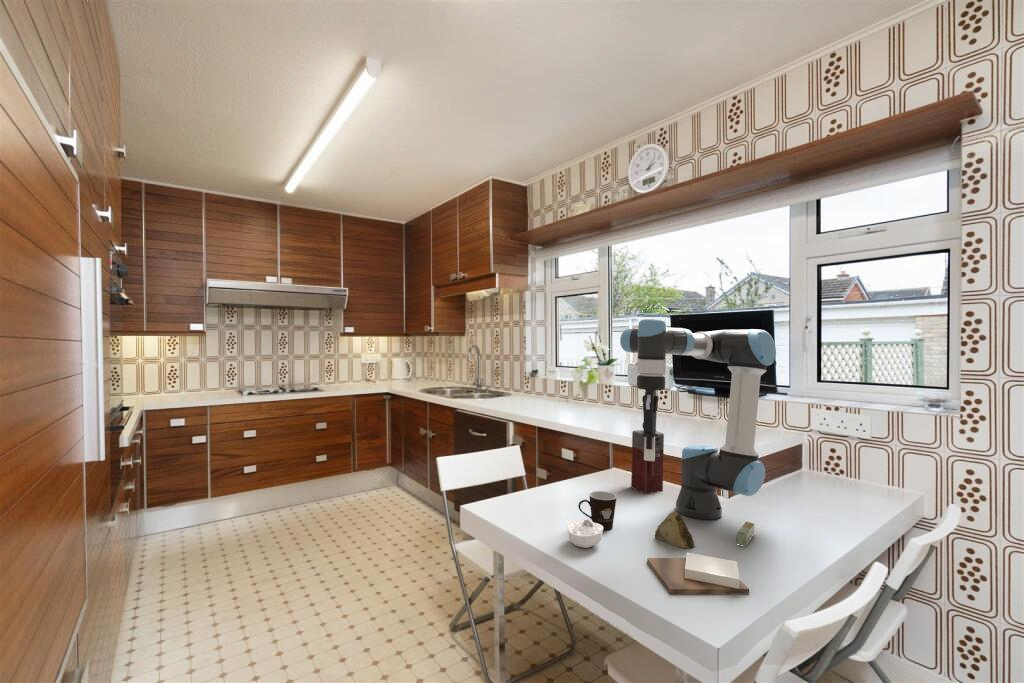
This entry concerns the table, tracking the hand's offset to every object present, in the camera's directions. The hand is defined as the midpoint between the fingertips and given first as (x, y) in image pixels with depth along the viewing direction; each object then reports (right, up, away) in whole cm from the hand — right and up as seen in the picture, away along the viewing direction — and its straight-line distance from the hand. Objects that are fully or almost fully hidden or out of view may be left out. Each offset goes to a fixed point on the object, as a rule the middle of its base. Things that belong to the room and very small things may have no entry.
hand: (649, 460), depth 130 cm
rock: (+10, -27, +9) cm, 30 cm away
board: (+8, -27, -12) cm, 30 cm away
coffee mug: (-11, -27, +20) cm, 35 cm away
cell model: (-17, -26, +6) cm, 32 cm away
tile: (+6, -24, -10) cm, 27 cm away
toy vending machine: (+17, -27, +60) cm, 68 cm away
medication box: (+33, -28, +12) cm, 45 cm away
